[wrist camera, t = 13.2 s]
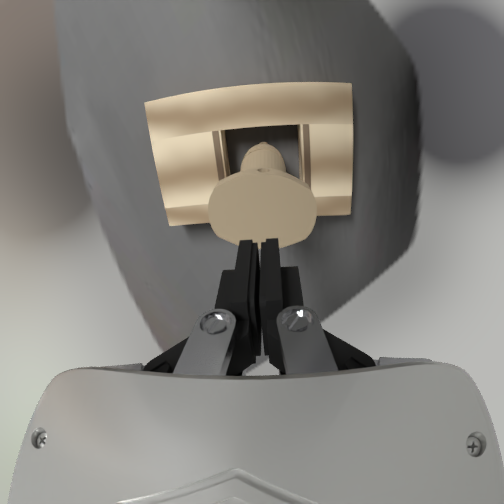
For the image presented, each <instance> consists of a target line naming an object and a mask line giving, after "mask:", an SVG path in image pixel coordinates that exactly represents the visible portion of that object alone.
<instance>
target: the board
mask: <svg viewBox="0 0 504 504" xmlns="http://www.w3.org/2000/svg"><path fill="white" fill-rule="evenodd" d="M145 109H146V115H147V121H148V127H149V133H150V138H151V144H152V149H153V154H154V159H155V164H156V169H157V174H158V178H159V183H160V187H161V192H162V196H163V201H164V205H165V209H166V213H167V217H168V221H169V225H170V226H175V225H187V224H199V223H210V221H209V216H208V203H209V199H210V196H211V194H212V192H213V190H214V188H215V186H216V185H217V183H218V182H219V181H220V180H222V179H224V178H226V177H228V176H230V175H231V174H230V167H229V159H228V151H227V143H226V135H225V130H227V129H237V128H247V127H259V126H274V125H296V124H297V130H298V149H299V172H300V180H302V181H303V182H305V183H307V184H308V185H309V187H310V189H311V191H312V193H313V195H314V198H315V200H316V205H317V216H328V215H350V213H351V197H352V175H353V103H352V83H335V82H285V83H266V84H253V85H242V86H233V87H225V88H217V89H210V90H204V91H198V92H192V93H186V94H181V95H176V96H171V97H167V98H162V99H158V100H154V101H149V102H145Z"/></svg>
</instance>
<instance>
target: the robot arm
mask: <svg viewBox="0 0 504 504" xmlns="http://www.w3.org/2000/svg"><path fill="white" fill-rule="evenodd" d="M261 333H263V343H264V352H265V356H266V355H269V362H270V363H271V364H272V365H273V366H275V367H276V368H277V369H279V375H270V376H246V368H247V367H249V366H250V365H251V364H253V363H256V356H261ZM8 504H504V467H503V462H502V457H501V453H500V449H499V445H498V441H497V437H496V433H495V430H494V426H493V423H492V420H491V417H490V415H489V412H488V409H487V407H486V404H485V402H484V399H483V397H482V395H481V393H480V391H479V389H478V387H477V386H476V384H475V382H474V381H473V379H472V378H471V377H470V375H469V374H468V373H467V372H466V371H465V370H463V369H461V368H460V367H457V366H455V365H452V364H448V363H442V362H435V361H432V360H430V359H423V358H387V357H380V358H379V360H373V359H372V358H371V357H370V356H368V355H367V354H365V353H364V352H362V351H360V350H358V349H357V348H355V347H353V346H351V345H350V344H348V343H346V342H344V341H342V340H341V339H339V338H337V337H336V336H334V335H332V334H331V333H329V332H327V331H325V330H324V329H322V326H321V324H320V321H319V318H318V316H317V314H316V313H315V312H314V311H313V310H312V309H310V308H308V307H305V306H304V305H303V297H302V290H301V284H300V277H299V270H298V266H294V267H280V254H279V240H278V238H268V239H266V242H261V263H259V252H258V243H257V242H256V243H253V240H252V239H251V240H240V241H239V247H238V254H237V260H236V266H235V270H223V272H222V276H221V281H220V285H219V290H218V295H217V299H216V304H215V309H212V310H209V311H207V312H205V313H203V314H202V315H201V316H199V318H198V319H197V321H196V323H195V325H194V327H193V330H192V332H191V334H190V336H189V337H188V338H186V339H185V340H183V341H181V342H180V343H178V344H177V345H175V346H173V347H172V348H170V349H169V350H167V351H165V352H164V353H162V354H161V355H159V356H157V357H156V358H154V359H152V360H151V361H150V362H149V363H147V365H145V366H143V365H142V363H138V364H129V365H117V366H105V367H81V368H76V369H71V370H67V371H64V372H62V373H60V374H58V375H57V376H55V377H54V378H53V379H52V381H51V382H50V383H49V385H48V386H47V388H46V389H45V391H44V393H43V394H42V396H41V398H40V400H39V402H38V404H37V406H36V408H35V411H34V413H33V415H32V418H31V420H30V423H29V425H28V428H27V431H26V433H25V436H24V439H23V442H22V445H21V449H20V451H19V455H18V458H17V461H16V465H15V469H14V473H13V478H12V482H11V487H10V493H9V498H8Z"/></svg>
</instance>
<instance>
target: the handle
mask: <svg viewBox="0 0 504 504" xmlns="http://www.w3.org/2000/svg"><path fill="white" fill-rule="evenodd" d="M208 216H209V221H210V224H211V227H212V229H213V230H214V232H215V233H216V235H217V236H218V237H220V238H222V239H224V240H227V241H229V242H231V243H234V244H236V245H238V246H239V241H240V240H251V239H252V240H253V243H256V242H257V243H258V249H261V242H266V239H268V238H278V240H279V248H282V247H286V246H289V245H292V244H294V243H297V242H300V241H302V240H305V239H306V238H307V237H308V236H309V234H310V233H311V231H312V230H313V227H314V225H315V221H316V217H317V205H316V200H315V198H314V195H313V193H312V191H311V189H310V187H309V185H308V184H307V183H305V182H303V181H302V180H300V179H298V178H296V177H294V176H292V175H290V174H288V173H286V167H285V163H284V160H283V157H282V156H281V154H280V153H279V151H278V150H277V149H276V148H275V147H273V146H271V145H269V144H268V143H267V142H260V144H258V145H255V146H253V147H252V148H250V149H249V151H248V152H247V153H246V155H245V156H244V158H243V161H242V164H241V170H240V172H238V173H235V174H233V175H230V176H228V177H226V178H224V179H222V180H220V181H219V182H218V183H217V185H216V186H215V188H214V190H213V192H212V194H211V196H210V199H209V203H208Z"/></svg>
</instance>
